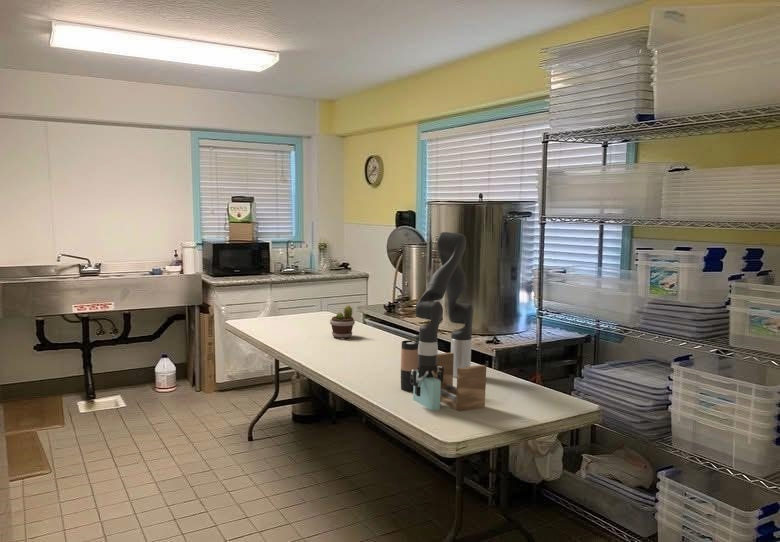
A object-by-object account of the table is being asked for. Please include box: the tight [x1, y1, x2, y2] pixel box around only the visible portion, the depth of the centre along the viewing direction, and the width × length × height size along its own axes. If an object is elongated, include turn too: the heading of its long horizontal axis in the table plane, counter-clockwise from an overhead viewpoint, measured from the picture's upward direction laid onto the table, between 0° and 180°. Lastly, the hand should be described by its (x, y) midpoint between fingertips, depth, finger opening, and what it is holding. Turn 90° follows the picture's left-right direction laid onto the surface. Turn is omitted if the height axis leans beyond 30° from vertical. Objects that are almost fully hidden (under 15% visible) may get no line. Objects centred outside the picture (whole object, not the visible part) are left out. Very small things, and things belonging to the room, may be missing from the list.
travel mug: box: [400, 339, 419, 393], centre depth 246 cm, size 8×8×20 cm
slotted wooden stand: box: [435, 352, 487, 412], centre depth 233 cm, size 24×12×16 cm, turn 28°
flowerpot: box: [329, 304, 356, 340], centre depth 345 cm, size 14×15×20 cm
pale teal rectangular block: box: [412, 373, 441, 411], centre depth 227 cm, size 14×4×11 cm, turn 28°
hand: (426, 394), depth 227 cm, fingers open, 7 cm apart
